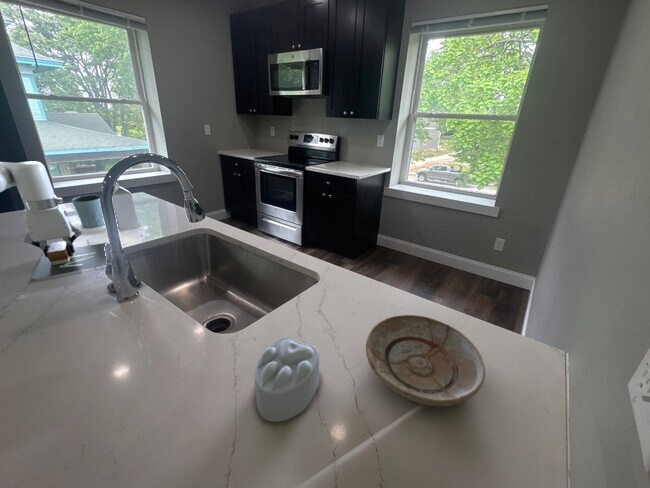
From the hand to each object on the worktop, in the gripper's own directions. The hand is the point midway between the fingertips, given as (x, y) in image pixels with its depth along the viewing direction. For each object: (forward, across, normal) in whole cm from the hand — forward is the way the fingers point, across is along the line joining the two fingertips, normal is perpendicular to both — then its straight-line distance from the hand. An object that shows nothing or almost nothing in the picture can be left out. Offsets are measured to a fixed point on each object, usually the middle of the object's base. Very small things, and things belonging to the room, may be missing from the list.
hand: (61, 256), depth 99 cm
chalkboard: (+2, -4, +2) cm, 5 cm away
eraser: (+1, 0, 0) cm, 1 cm away
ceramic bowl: (+2, -70, +92) cm, 116 cm away
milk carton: (+2, -19, -25) cm, 31 cm away
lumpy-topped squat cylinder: (+2, -43, +83) cm, 93 cm away
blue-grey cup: (+2, -7, -34) cm, 35 cm away
